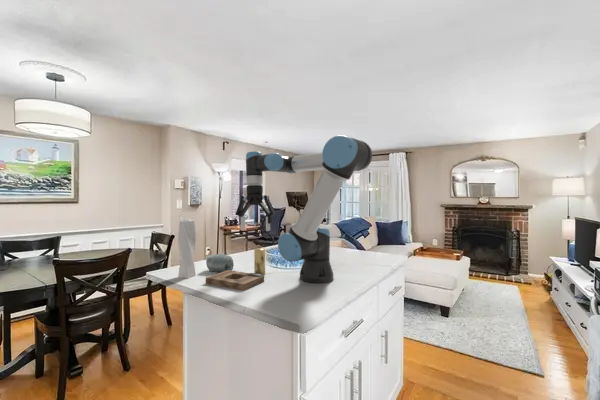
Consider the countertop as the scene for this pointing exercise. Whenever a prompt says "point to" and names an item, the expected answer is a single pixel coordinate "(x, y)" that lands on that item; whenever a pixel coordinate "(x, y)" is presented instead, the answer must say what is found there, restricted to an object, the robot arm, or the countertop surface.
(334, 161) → the robot arm
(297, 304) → the countertop surface
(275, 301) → the countertop surface
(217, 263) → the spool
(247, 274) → the jig
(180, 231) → the skyscraper
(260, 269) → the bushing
